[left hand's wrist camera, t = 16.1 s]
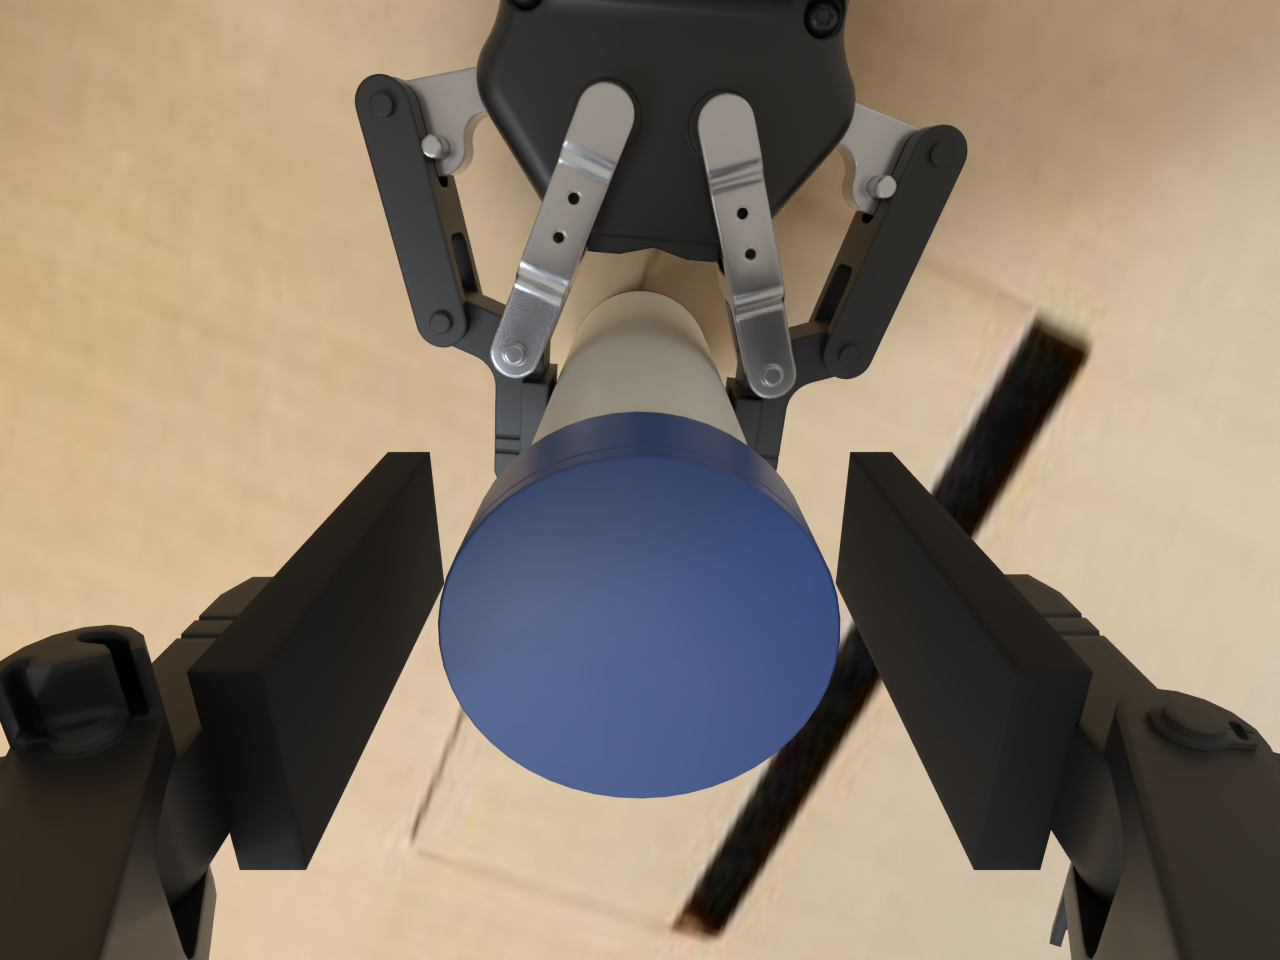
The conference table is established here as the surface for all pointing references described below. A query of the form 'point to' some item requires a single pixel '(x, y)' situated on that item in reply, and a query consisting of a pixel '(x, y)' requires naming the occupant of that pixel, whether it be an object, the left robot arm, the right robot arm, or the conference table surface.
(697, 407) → the jar
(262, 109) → the conference table surface
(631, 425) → the lid
